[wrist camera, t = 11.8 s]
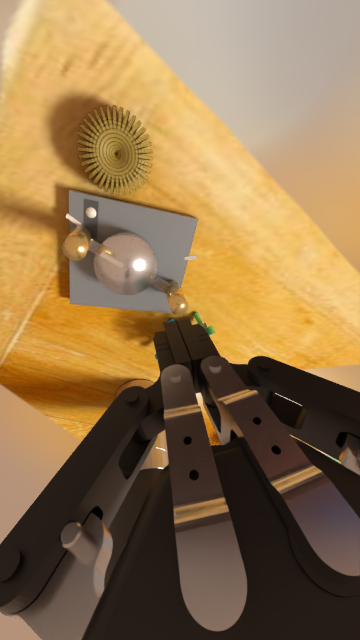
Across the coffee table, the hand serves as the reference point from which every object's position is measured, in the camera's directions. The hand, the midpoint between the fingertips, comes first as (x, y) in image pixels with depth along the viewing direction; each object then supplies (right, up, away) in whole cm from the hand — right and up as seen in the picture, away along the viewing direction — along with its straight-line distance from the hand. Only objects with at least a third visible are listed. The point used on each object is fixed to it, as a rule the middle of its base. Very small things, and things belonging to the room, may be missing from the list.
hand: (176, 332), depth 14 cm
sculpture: (-7, +20, +14) cm, 26 cm away
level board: (-7, +10, +21) cm, 24 cm away
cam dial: (-7, +9, +19) cm, 22 cm away
